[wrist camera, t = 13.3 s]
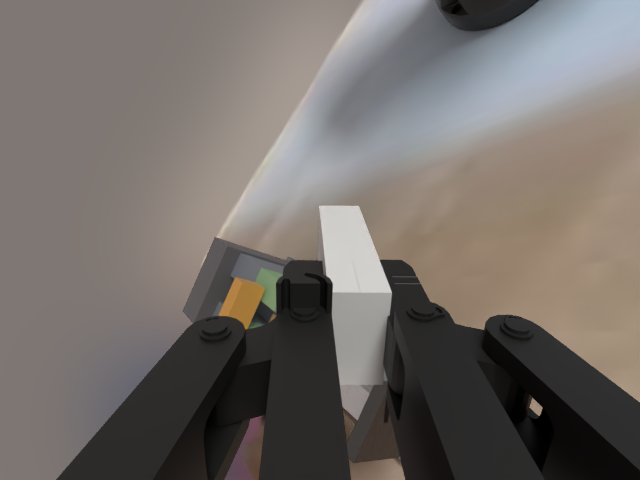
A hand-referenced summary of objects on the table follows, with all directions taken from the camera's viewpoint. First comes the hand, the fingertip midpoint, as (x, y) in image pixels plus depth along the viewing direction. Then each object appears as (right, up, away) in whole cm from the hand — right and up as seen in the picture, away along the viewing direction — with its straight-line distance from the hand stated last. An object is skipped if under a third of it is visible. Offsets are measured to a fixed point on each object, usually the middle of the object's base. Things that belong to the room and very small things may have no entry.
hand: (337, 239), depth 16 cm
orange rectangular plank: (-8, -8, +29) cm, 31 cm away
